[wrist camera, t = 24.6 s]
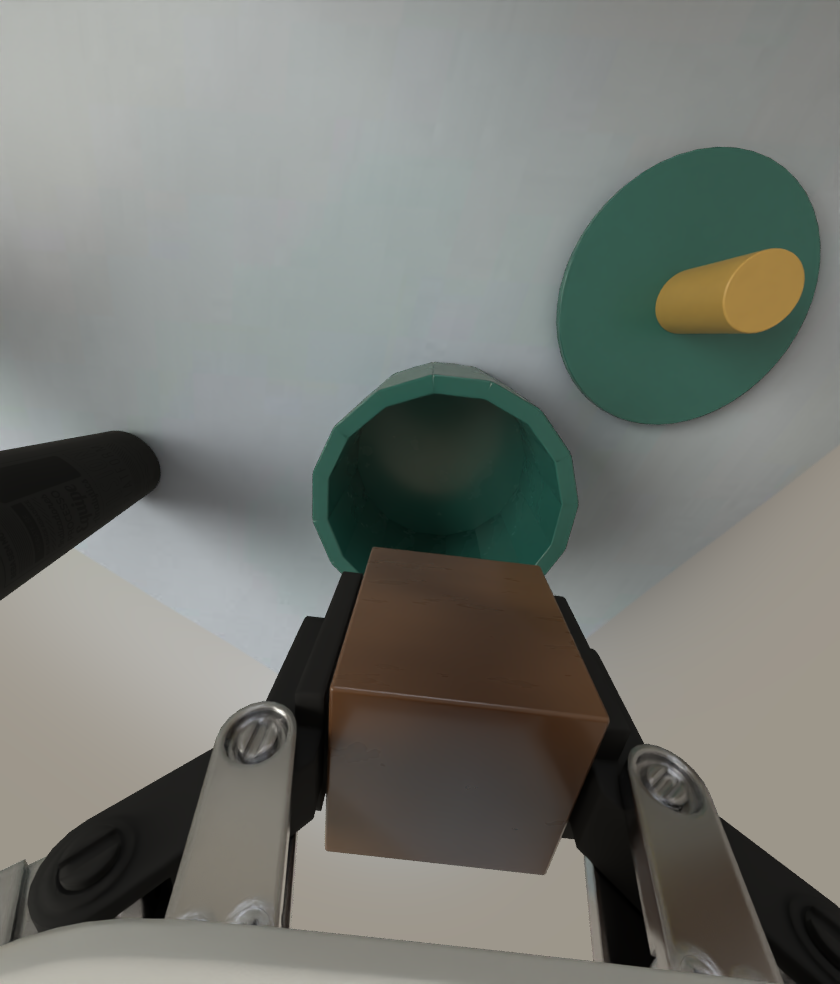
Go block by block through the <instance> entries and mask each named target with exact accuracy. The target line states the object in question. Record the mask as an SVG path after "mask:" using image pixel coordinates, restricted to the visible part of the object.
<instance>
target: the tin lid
mask: <svg viewBox="0 0 840 984" xmlns="http://www.w3.org/2000/svg"><path fill="white" fill-rule="evenodd" d="M819 267H820V236H819V228H818V223H817V220H816V216H815V213H814V209H813V207H812V205H811V202H810V200H809V198H808V196H807V194H806V192H805V191H804V189H803V188H802V187H801V185H800V184H799V182H798V181H797V179H796V178H795V177H794V176H792V175H791V174H790V173H789V172H788V171H787V170H786V169H785V168H784V167H783V166H781V165H780V164H778V163H777V162H775V161H774V160H772V159H771V158H769V157H766V156H764V155H761V154H759V153H756V152H754V151H750V150H745V149H740V148H733V147H712V148H704V149H697V150H693V151H690V152H686V153H682V154H679V155H676V156H674V157H672V158H669V159H667V160H665V161H662V162H660V163H658V164H657V165H655V166H653V167H651V168H650V169H648V170H646V171H645V172H643V173H641V174H640V175H639V176H637V177H636V178H635V179H633V180H632V181H631V182H629V183H628V184H627V185H625V186H624V187H623V188H622V189H620V190H619V191H618V192H617V193H616V194H615V195H614V196H613V197H612V198H611V199H610V200H609V201H608V202H607V203H606V204H605V205H604V206H603V207H602V208H601V210H600V211H599V212H598V213H597V214H596V216H595V217H594V218H593V219H592V221H591V222H590V224H589V225H588V227H587V228H586V229H585V231H584V232H583V234H582V235H581V237H580V239H579V241H578V243H577V245H576V247H575V248H574V250H573V252H572V254H571V257H570V259H569V262H568V264H567V267H566V269H565V272H564V276H563V279H562V283H561V286H560V291H559V297H558V303H557V318H556V326H557V338H558V343H559V348H560V353H561V356H562V359H563V362H564V364H565V367H566V369H567V371H568V373H569V375H570V377H571V379H572V381H573V382H574V383H575V385H576V386H577V387H578V389H579V390H580V391H581V392H582V393H583V394H584V395H585V396H586V397H587V398H588V399H589V400H590V401H591V402H592V403H593V404H595V405H596V406H598V407H599V408H600V409H602V410H604V411H606V412H608V413H610V414H612V415H614V416H616V417H619V418H622V419H625V420H627V421H631V422H636V423H642V424H656V425H659V424H672V423H678V422H683V421H688V420H691V419H694V418H697V417H701V416H704V415H706V414H708V413H711V412H713V411H715V410H717V409H720V408H721V407H723V406H725V405H727V404H728V403H730V402H732V401H734V400H735V399H737V398H738V397H739V396H741V395H742V394H744V393H745V392H746V391H748V390H749V389H750V388H751V387H753V386H754V385H755V384H756V383H757V382H758V381H760V380H761V379H762V378H763V377H764V376H765V375H766V374H767V373H768V372H769V371H770V370H771V369H772V367H773V366H774V365H775V364H776V363H777V362H778V360H779V359H780V358H781V357H782V355H783V354H784V353H785V352H786V350H787V349H788V347H789V346H790V344H791V343H792V341H793V339H794V338H795V336H796V335H797V333H798V331H799V329H800V327H801V325H802V323H803V321H804V319H805V317H806V315H807V312H808V310H809V307H810V305H811V302H812V299H813V296H814V292H815V288H816V284H817V281H818V274H819Z"/></svg>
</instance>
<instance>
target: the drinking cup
mask: <svg viewBox="0 0 840 984" xmlns="http://www.w3.org/2000/svg"><path fill="white" fill-rule="evenodd" d="M159 479H160V466H159V462H158V460H157V458H156V456H155V454H154V452H153V451H152V450H151V449H150V447H149V446H148V445H147V444H146V443H145V442H143V441H142V440H141V439H139V438H138V437H136V436H134V435H132V434H129V433H126V432H122V431H109V432H104V433H98V434H92V435H87V436H81V437H76V438H70V439H64V440H59V441H53V442H48V443H42V444H37V445H31V446H25V447H20V448H14V449H9V450H3V451H0V600H2V599H3V598H5V597H6V596H7V595H9V594H10V593H11V592H13V591H14V590H16V589H17V588H18V587H20V586H21V585H22V584H24V583H25V582H27V581H28V580H29V579H31V578H32V577H34V576H35V575H36V574H38V573H39V572H40V571H42V570H43V569H45V568H46V567H47V566H49V565H50V564H52V563H53V562H54V561H56V560H57V559H58V558H60V557H61V556H63V555H64V554H65V553H67V552H68V551H69V550H71V549H72V548H74V547H75V546H76V545H78V544H79V543H81V542H82V541H83V540H85V539H86V538H87V537H89V536H90V535H92V534H93V533H94V532H96V531H97V530H98V529H100V528H101V527H103V526H104V525H105V524H107V523H108V522H110V521H111V520H112V519H114V518H115V517H116V516H118V515H119V514H121V513H122V512H123V511H125V510H126V509H128V508H129V507H130V506H132V505H133V504H134V503H136V502H137V501H139V500H140V499H141V498H143V497H144V496H145V495H147V494H148V493H150V492H151V491H152V490H153V489H154V488H155V487H156V486H157V484H158V482H159Z"/></svg>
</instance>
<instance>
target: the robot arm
mask: <svg viewBox="0 0 840 984" xmlns="http://www.w3.org/2000/svg"><path fill="white" fill-rule="evenodd" d="M362 579H363V573H354V572H346V571H344V572H343V573H342V575H341V578H340V580H339V583H338V585H337V588H336V590H335V593H334V596H333V598H332V601H331V603H330V606H329V608H328V611H327V613H326V616H325V618H320V617H311V616H307V617H306V618H305V619H304V621H303V623H302V625H301V627H300V629H299V631H298V633H297V635H296V638H295V640H294V642H293V644H292V646H291V648H290V650H289V653H288V655H287V657H286V659H285V661H284V663H283V665H282V668H281V670H280V672H279V674H278V676H277V678H276V680H275V683H274V685H273V687H272V689H271V691H270V693H269V695H268V698H267V700H266V701H262V702H258V703H253V704H250V705H248V706H246V707H244V708H242V709H240V710H238V711H237V712H236V713H235V714H233V715H232V716H231V717H229V719H228V720H227V721H226V722H225V723H224V725H223V726H222V727H221V729H220V731H219V733H218V736H217V738H216V741H215V744H214V748H212V749H211V750H209V751H207V752H205V753H204V754H202V755H200V756H198V757H197V758H195V759H193V760H192V761H190V762H188V763H186V764H184V765H183V766H181V767H179V768H178V769H176V770H174V771H172V772H171V773H169V774H167V775H165V776H163V777H162V778H160V779H158V780H157V781H155V782H153V783H151V784H150V785H148V786H146V787H144V788H143V789H141V790H139V791H137V792H135V793H134V794H132V795H130V796H129V797H127V798H125V799H124V800H122V801H120V802H118V803H116V804H115V805H113V806H111V807H109V808H108V809H106V810H104V811H102V812H101V813H99V814H97V815H95V816H94V817H92V818H90V819H88V820H87V821H85V822H84V823H82V824H81V825H79V826H78V827H77V828H75V829H74V830H72V831H71V832H69V833H68V834H67V835H66V836H65V837H64V838H63V839H62V840H61V841H60V842H59V843H58V844H57V845H56V846H55V847H54V848H53V849H52V850H51V852H50V853H49V854H48V856H47V857H44V858H42V859H40V860H38V861H36V862H34V863H32V864H30V865H28V864H27V862H26V860H23V861H21V862H18V863H16V864H14V865H12V866H10V867H8V868H6V869H4V870H2V871H0V984H840V908H838V906H837V905H835V904H834V903H833V902H832V901H830V900H829V899H828V898H826V897H825V896H824V895H822V894H821V893H820V892H818V891H817V890H816V889H814V888H813V887H812V886H811V885H809V884H808V883H807V882H805V881H804V880H803V879H801V878H800V877H799V876H797V875H796V874H795V873H793V872H792V871H791V870H789V869H788V868H787V867H785V866H784V865H783V864H781V863H780V862H779V861H777V860H776V859H775V858H774V857H772V856H771V855H770V854H768V853H767V852H766V851H764V850H763V849H762V848H760V847H759V846H758V845H756V844H755V843H754V842H752V841H751V840H750V839H748V838H747V837H746V836H744V835H743V834H742V833H740V832H739V831H738V830H737V829H735V828H734V827H733V826H731V825H730V824H728V823H727V822H726V821H725V820H723V819H722V818H721V817H719V816H718V813H717V810H716V808H715V805H714V803H713V800H712V798H711V795H710V793H709V791H708V789H707V787H706V786H705V784H704V782H703V781H702V779H701V778H700V777H699V776H698V774H697V773H696V772H695V771H694V769H692V768H691V767H690V766H689V765H688V764H687V763H686V762H685V761H683V759H681V758H680V757H678V756H676V755H675V754H673V753H672V752H670V751H668V750H666V749H664V748H661V747H659V746H655V745H650V744H644V743H643V741H642V739H641V737H640V735H639V733H638V731H637V729H636V727H635V725H634V723H633V721H632V719H631V717H630V715H629V713H628V711H627V709H626V707H625V706H624V704H623V702H622V700H621V698H620V696H619V694H618V692H617V690H616V688H615V686H614V684H613V682H612V680H611V678H610V676H609V674H608V672H607V670H606V668H605V666H604V665H603V663H602V661H601V659H600V657H599V655H598V654H597V652H596V651H595V650H593V649H590V647H589V645H588V643H587V641H586V639H585V637H584V635H583V633H582V631H581V629H580V627H579V625H578V623H577V621H576V619H575V617H574V615H573V613H572V611H571V609H570V607H569V605H568V603H567V601H566V599H565V598H564V597H562V596H554V598H555V600H556V602H557V604H558V607H559V609H560V611H561V613H562V615H563V618H564V620H565V622H566V624H567V626H568V628H569V631H570V633H571V635H572V637H573V639H574V642H575V644H576V646H577V648H578V650H579V652H580V655H581V657H582V659H583V661H584V663H585V666H586V668H587V670H588V672H589V674H590V677H591V679H592V681H593V683H594V685H595V687H596V690H597V692H598V694H599V696H600V698H601V701H602V703H603V705H604V707H605V709H606V712H607V714H608V716H609V722H610V723H609V725H608V728H607V730H606V732H605V735H604V737H603V739H602V742H601V744H600V747H599V749H598V751H597V754H596V756H595V758H594V761H593V763H592V766H591V768H590V770H589V773H588V775H587V777H586V780H585V782H584V785H583V787H582V789H581V792H580V794H579V797H578V799H577V801H576V804H575V806H574V808H573V811H572V813H571V816H570V818H569V820H568V823H567V825H566V827H565V830H564V832H563V835H562V837H561V838H568V839H575V842H576V846H577V848H578V849H579V850H580V851H581V852H582V853H583V854H584V865H585V877H586V888H587V898H588V909H589V920H590V931H591V941H592V952H593V961H586V960H577V959H567V958H559V957H550V956H541V955H532V954H522V953H514V952H504V951H494V950H485V949H477V948H467V947H458V946H449V945H440V944H431V943H422V942H413V941H403V940H393V939H384V938H374V937H365V936H355V935H344V934H336V933H325V932H317V931H307V930H297V929H291V918H292V904H293V890H294V875H295V862H296V849H297V848H296V847H297V835H298V830H300V829H301V828H302V827H303V826H305V825H306V824H307V823H308V822H310V821H311V820H312V819H313V818H314V814H315V810H318V811H321V809H322V805H323V801H324V797H325V793H326V790H327V758H328V725H329V692H330V685H331V682H332V679H333V675H334V672H335V669H336V665H337V662H338V659H339V655H340V652H341V649H342V645H343V642H344V639H345V636H346V632H347V629H348V626H349V622H350V619H351V616H352V612H353V609H354V606H355V602H356V599H357V596H358V593H359V589H360V586H361V583H362Z"/></svg>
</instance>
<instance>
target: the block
mask: <svg viewBox="0 0 840 984" xmlns="http://www.w3.org/2000/svg"><path fill="white" fill-rule="evenodd" d="M609 723H610V722H609V716H608V714H607V712H606V709H605V707H604V705H603V703H602V701H601V698H600V696H599V694H598V692H597V690H596V687H595V685H594V683H593V681H592V679H591V677H590V674H589V672H588V670H587V668H586V666H585V663H584V661H583V659H582V657H581V655H580V652H579V650H578V648H577V646H576V644H575V642H574V639H573V637H572V635H571V633H570V631H569V628H568V626H567V624H566V622H565V620H564V618H563V615H562V613H561V611H560V609H559V607H558V604H557V602H556V600H555V598H554V596H553V593H552V591H551V589H550V587H549V585H548V583H547V580H546V578H545V576H544V574H543V572H542V569H541V567H540V566H538V565H530V564H521V563H512V562H504V561H495V560H486V559H478V558H469V557H460V556H452V555H443V554H434V553H426V552H417V551H409V550H400V549H391V548H383V547H373V548H372V550H371V553H370V556H369V559H368V563H367V566H366V569H365V573H364V576H363V579H362V583H361V586H360V589H359V593H358V596H357V599H356V602H355V606H354V609H353V612H352V616H351V619H350V622H349V626H348V629H347V632H346V636H345V639H344V642H343V645H342V649H341V652H340V655H339V659H338V662H337V665H336V669H335V672H334V675H333V679H332V682H331V685H330V692H329V725H328V758H327V790H326V823H325V824H326V826H325V849H326V850H327V851H331V852H340V853H349V854H358V855H367V856H376V857H385V858H394V859H403V860H413V861H422V862H430V863H439V864H448V865H457V866H466V867H475V868H484V869H493V870H502V871H511V872H521V873H530V874H538V875H544V874H546V873H547V870H548V868H549V865H550V863H551V861H552V858H553V856H554V854H555V851H556V849H557V846H558V844H559V842H560V839H561V837H562V835H563V832H564V830H565V827H566V825H567V823H568V820H569V818H570V816H571V813H572V811H573V808H574V806H575V804H576V801H577V799H578V797H579V794H580V792H581V789H582V787H583V785H584V782H585V780H586V777H587V775H588V773H589V770H590V768H591V766H592V763H593V761H594V758H595V756H596V754H597V751H598V749H599V747H600V744H601V742H602V739H603V737H604V735H605V732H606V730H607V728H608V725H609Z"/></svg>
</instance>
